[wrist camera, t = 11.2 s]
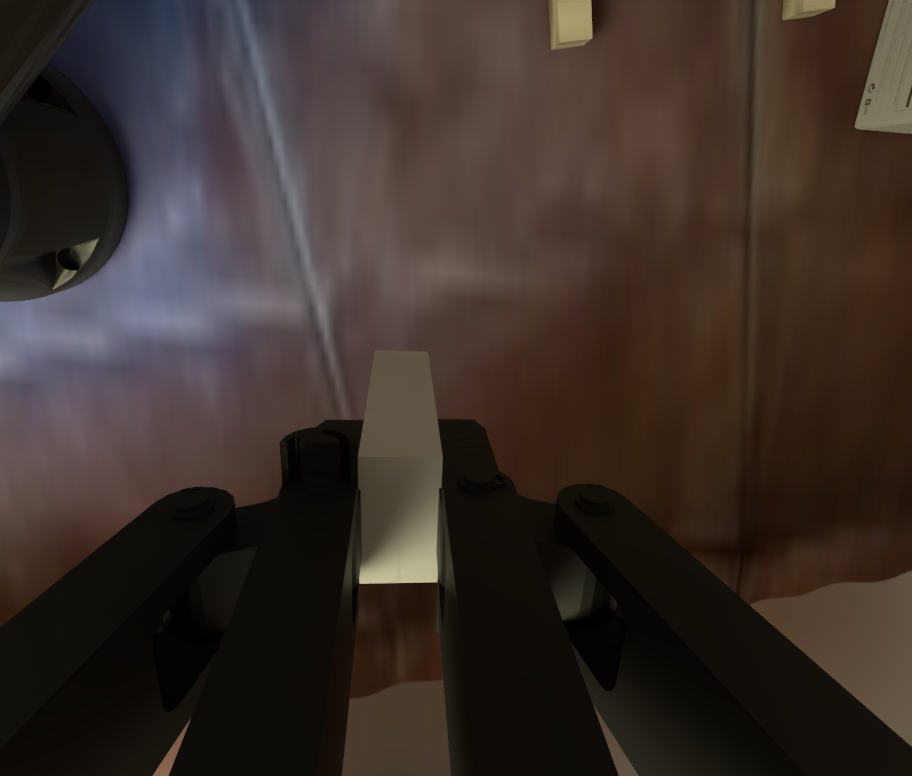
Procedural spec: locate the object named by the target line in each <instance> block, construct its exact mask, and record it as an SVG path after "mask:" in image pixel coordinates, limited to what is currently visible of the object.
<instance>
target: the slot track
mask: <svg viewBox="0 0 912 776" xmlns="http://www.w3.org/2000/svg"><path fill="white" fill-rule="evenodd" d="M833 8H835V0H783V15H782V20H790V19H798V18H806V17H813V16H815V15H818V14H820V13H823V12H825V11H828V10H830V9H833ZM549 18H550V35H551V50H555V49H563V48H571V47H578V46H583V45H585V44H586V43H587V42H589V41H590V40H591V39H593V37H592V7H591V0H549Z"/></svg>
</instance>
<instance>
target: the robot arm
mask: <svg viewBox="0 0 912 776" xmlns="http://www.w3.org/2000/svg"><path fill="white" fill-rule="evenodd" d="M94 1H95V0H0V301H1V302H10V301H24V300H31V299H37V298H41V297H45V296H48V295H51V294H54V293H57V292H60V291H63V290H66V289H69V288H71V287H74V286H76V285H78V284H80V283H82V282H83V281H85V280H86V279H88V278H89V277H91V276H92V275H93V274H95V273H96V272H97V271H98V270H99V269H100V268H101V267H102V266H103V265H104V264H105V263H106V262H107V260H108V259H109V258H110V256H111V255H112V253H113V252H114V250H115V248H116V246H117V244H118V242H119V240H120V237H121V235H122V232H123V229H124V225H125V220H126V214H127V201H128V197H127V183H126V177H125V171H124V167H123V163H122V160H121V157H120V154H119V151H118V148H117V146H116V143H115V141H114V139H113V137H112V135H111V133H110V131H109V129H108V127H107V126H106V124H105V122H104V121H103V119H102V118H101V116H100V114H99V113H98V112H97V110H96V109H95V107H94V106H93V105H92V104H91V102H90V101H89V100H88V99H87V97H86V96H85V95H84V94H83V93H82V92H81V91H80V90H79V89H78V88H77V87H76V86H75V85H74V84H73V83H72V82H71V81H70V80H69V79H68V78H67V77H65V76H64V75H63V74H62V73H61V72H59V71H58V70H57V69H55V68H54V67H53V66H51V65H50V64H48V62H49V61H50V60H51V58H52V57H53V56H54V54H55V53H56V52H57V50H58V49H59V48H60V46H61V45H62V44H63V42H64V41H65V40H66V38H67V37H68V36H69V34H70V33H71V32H72V30H73V29H74V28H75V26H76V25H77V24H78V22H79V21H80V20H81V18H82V17H83V16H84V14H85V13H86V12H87V10H88V9H89V8H90V7H91V5H92V4H93V3H94ZM280 454H281V470H282V487H281V489H280V492H279V495H278V497H277V498H275V499H272V500H269V501H267V502H263V503H259V504H255V505H249V506H243V507H238V508H235V503H234V497H233V496H232V495H231V494H230V493H228V492H227V491H226V490H222V489H218V488H214V487H193V488H186V489H182V490H180V491H178V492H175V493H172V494H169V495H167V496H165V497H163V498H162V499H160V500H158V501H157V502H155V503H154V504H152V505H151V506H150V507H149V508H147V509H146V510H145V511H144V512H143V513H141V514H140V515H139V516H138V517H136V518H135V519H134V520H133V521H131V522H130V523H129V524H128V525H126V526H125V527H124V528H123V529H121V530H120V531H119V532H118V533H117V534H115V535H114V536H113V537H112V538H110V539H109V540H108V541H107V542H105V543H104V544H103V545H102V546H100V547H99V548H98V549H97V550H95V551H94V552H93V553H92V554H91V555H89V556H88V557H87V558H86V559H84V560H83V561H82V562H81V563H79V564H78V565H77V566H76V567H74V568H73V569H72V570H71V571H69V572H68V573H67V574H66V575H65V576H63V577H62V578H61V579H60V580H58V581H57V582H56V583H55V584H53V585H52V586H51V587H50V588H48V589H47V590H46V591H45V592H43V593H42V594H41V595H40V596H39V597H37V598H36V599H35V600H34V601H32V602H31V603H30V604H29V605H27V606H26V607H25V608H24V609H22V610H21V611H20V612H19V613H17V614H16V615H15V616H14V617H13V618H11V619H10V620H9V621H8V622H6V623H5V624H4V625H3V626H1V627H0V776H152V775H153V774H154V772H155V771H156V769H157V768H158V766H159V765H160V763H161V762H162V760H163V759H164V757H165V756H166V754H167V753H168V751H169V750H170V748H171V747H172V745H173V744H174V742H175V741H176V739H177V738H178V736H179V735H180V733H181V732H182V730H183V729H184V727H185V726H186V724H187V723H188V721H189V720H190V718H191V720H190V723H189V725H188V728H187V730H186V733H185V736H184V738H183V741H182V743H181V746H180V749H179V751H178V754H177V756H176V758H175V761H174V764H173V766H172V769H171V771H170V774H169V776H342V769H343V759H344V749H345V739H346V729H347V718H348V709H349V699H350V689H351V679H352V669H353V659H354V649H355V639H356V629H357V619H358V609H359V579H360V584H365V583H416V582H437V575H438V594H437V616H436V633H440V642H441V655H442V668H443V681H444V694H445V707H446V720H447V732H448V744H449V745H448V746H449V758H450V771H451V776H618V773H617V770H616V767H615V765H614V762H613V759H612V756H611V753H610V751H609V748H608V745H607V742H606V740H605V737H604V734H603V731H602V728H601V726H600V723H599V720H598V717H597V715H596V712H595V709H594V706H595V708H596V709H597V711H598V712H599V714H600V715H601V717H602V719H603V720H604V722H605V723H606V725H607V726H608V728H609V730H610V731H611V733H612V734H613V736H614V737H615V739H616V740H617V742H618V744H619V745H620V747H621V748H622V750H623V751H624V753H625V755H626V756H627V758H628V759H629V761H630V762H631V764H632V766H633V767H634V769H635V770H636V772H637V773H638V775H639V776H912V747H911V746H910V745H909V744H908V743H906V742H905V741H904V740H903V739H902V738H901V737H900V736H899V735H897V734H896V733H895V732H894V731H893V730H892V729H891V728H889V727H888V726H887V725H886V724H885V723H884V722H882V721H881V720H880V719H879V718H878V717H877V716H876V715H874V714H873V713H872V712H871V711H870V710H869V709H867V708H866V707H865V706H864V705H863V704H862V703H861V702H860V701H858V700H857V699H856V698H855V697H854V696H853V695H852V694H850V693H849V692H848V691H847V690H846V689H845V688H843V687H842V686H841V685H840V684H839V683H838V682H837V681H836V680H834V679H833V678H832V677H831V676H829V674H828V673H826V672H825V671H824V670H823V669H821V667H819V666H818V665H817V664H816V663H815V662H814V661H813V660H811V659H810V658H809V657H808V656H807V655H806V654H805V653H803V652H802V651H801V650H800V649H799V648H798V647H797V646H795V645H794V644H793V643H792V642H791V641H790V640H789V639H787V638H786V637H785V636H784V635H783V634H782V633H781V632H779V631H778V630H777V629H776V628H775V627H774V626H773V625H771V624H770V623H769V622H768V621H767V620H766V619H765V618H763V617H762V616H761V615H760V614H759V613H758V612H756V611H755V610H754V609H753V608H752V607H751V606H750V605H748V604H747V603H746V602H745V601H744V600H743V599H742V598H740V597H739V596H738V595H737V594H736V593H735V592H734V591H732V590H731V589H730V588H729V587H728V586H727V585H726V584H724V583H723V582H722V581H721V580H720V579H719V578H718V577H716V576H715V575H714V574H713V573H712V572H711V571H710V570H708V569H707V568H706V567H705V566H704V565H703V564H702V563H700V562H699V561H698V560H697V559H696V558H695V557H694V556H692V555H691V554H690V553H689V552H688V551H687V550H685V549H684V548H683V547H682V546H681V545H680V544H679V543H677V542H676V541H675V540H674V539H673V538H672V537H671V536H669V535H668V534H667V533H666V532H665V531H664V530H663V529H661V528H660V527H659V526H658V525H657V524H656V523H655V522H653V521H652V520H651V519H650V518H649V517H648V516H647V515H645V514H644V513H643V512H642V511H641V510H640V509H639V508H637V507H636V506H635V505H634V504H633V503H632V502H631V501H629V500H628V499H627V498H626V497H624V496H623V495H621V494H620V493H618V492H616V491H614V490H611V489H608V488H606V487H604V486H601V485H597V484H596V485H594V484H575V485H572V486H568V487H565V488H563V489H562V490H561V491H560V492H559V493H558V496H557V502H556V504H553V503H548V502H542V501H537V500H533V499H529V498H526V497H523V496H521V495H518V494H517V491H516V489H515V486H514V483H513V482H512V480H511V479H510V478H509V477H508V476H507V475H505V474H503V473H502V472H500V471H499V470H498V467H497V463H496V460H495V457H494V454H493V451H492V449H491V445H490V442H489V441H488V436H487V433H486V430H485V428H484V427H482V426H481V425H480V424H479V423H477V422H476V421H475V420H461V419H437V413H436V406H435V399H434V392H433V385H432V378H431V371H430V364H429V357H428V352H416V351H375V355H374V361H373V367H372V373H371V379H370V385H369V392H368V398H367V404H366V410H365V416H364V420H325V421H324V422H323V423H321V424H320V425H318V426H317V427H316V428H307V429H303V430H299V431H295V432H293V433H291V434H289V435H287V436H285V437H284V438H283V439H282V440H281V442H280ZM617 604H618V605H619V606H618V605H617ZM593 705H594V706H593Z"/></svg>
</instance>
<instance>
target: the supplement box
mask: <svg viewBox="0 0 912 776" xmlns="http://www.w3.org/2000/svg"><path fill="white" fill-rule="evenodd" d="M855 128H856V129H862V130H874V131H885V132H896V133H908V134H912V0H889V2H888V5H887V9H886V12H885V16H884V20H883V23H882V27H881V31H880V34H879V38H878V41H877V45H876V49H875V52H874V56H873V60H872V63H871V67H870V71H869V74H868V78H867V82H866V86H865V89H864V93H863V97H862V100H861V104H860V108H859V111H858V115H857V119H856V122H855Z"/></svg>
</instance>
